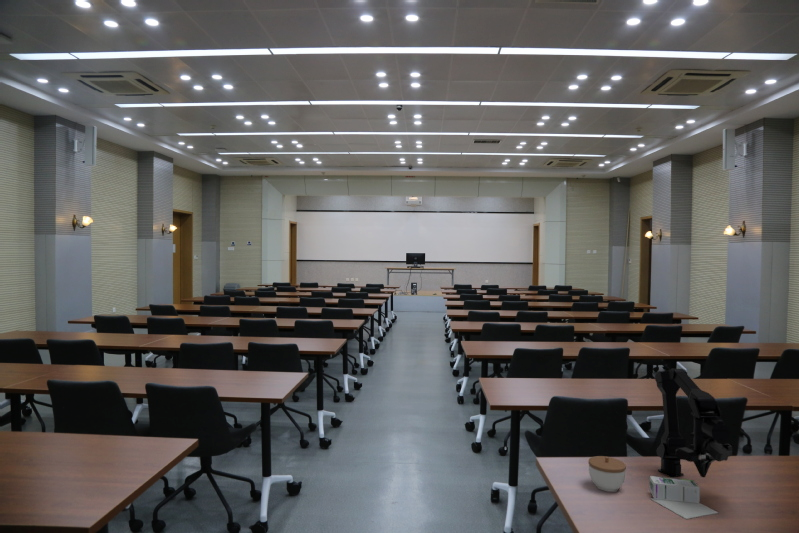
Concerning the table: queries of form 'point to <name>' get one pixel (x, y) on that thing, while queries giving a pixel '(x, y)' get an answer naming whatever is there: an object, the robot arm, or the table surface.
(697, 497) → the syrup box
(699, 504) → the mat
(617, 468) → the lidded bowl
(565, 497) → the table surface
